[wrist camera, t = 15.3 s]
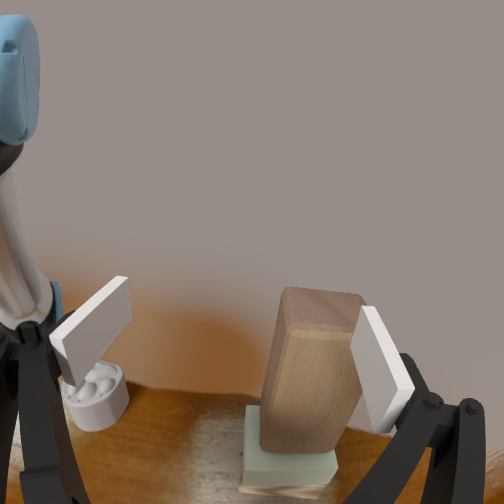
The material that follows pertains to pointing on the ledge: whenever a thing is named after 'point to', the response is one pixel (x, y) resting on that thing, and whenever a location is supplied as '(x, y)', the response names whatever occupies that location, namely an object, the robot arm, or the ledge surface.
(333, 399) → the block
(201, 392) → the ledge surface
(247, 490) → the tower bottom
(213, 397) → the ledge surface
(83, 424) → the lumpy-topped squat cylinder
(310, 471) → the tower top
